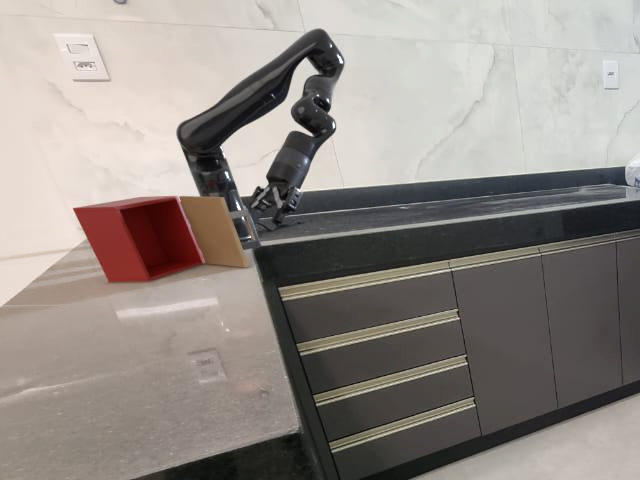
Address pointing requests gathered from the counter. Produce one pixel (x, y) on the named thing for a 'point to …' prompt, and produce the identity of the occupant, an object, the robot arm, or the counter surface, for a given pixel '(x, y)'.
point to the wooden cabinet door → (219, 230)
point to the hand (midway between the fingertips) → (263, 223)
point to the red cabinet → (140, 238)
